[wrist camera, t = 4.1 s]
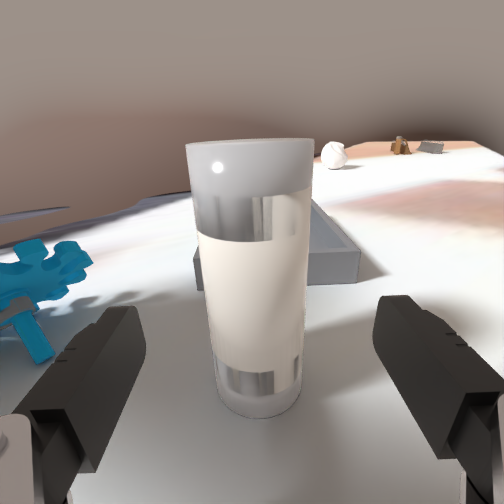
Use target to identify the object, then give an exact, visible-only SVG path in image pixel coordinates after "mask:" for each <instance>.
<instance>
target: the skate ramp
mask: <svg viewBox="0 0 504 504" xmlns="http://www.w3.org/2000/svg"><path fill="white" fill-rule="evenodd" d="M397 138H398V136H397ZM402 140H405V142H406V144H405V143H404V142H403V141H402ZM430 142H431V141H430ZM440 142H441V141H439V142H438V143H440ZM401 143H402V144H401ZM442 143H443V142H442ZM443 146H444V143H443V144H437V142H436V143H433V142H432V143H429V142H428V141H427V142H421V145H420V146H419V148H418V149H416V150H418V151H423V152H427V153H432V154H442V150H443ZM391 151H394V154H398V155H399V153H401V154H411V153H410V151H409V147H408V143H407V140H406V139H396V143H392V145H391Z"/></svg>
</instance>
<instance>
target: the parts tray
mask: <svg viewBox="0 0 504 504" xmlns="http://www.w3.org/2000/svg"><path fill="white" fill-rule="evenodd" d="M360 255H361V250H360V249H359V248H358V247H357V246H356V245H355V244H354V243H353V242H352V241H351V240H350V239H349V238H348V237H347V236H346V235H345V233H344V232H343V231H342V230H341V229H340V228H339V227H338V226H337V225H336V224H335V223H334V222H333V221H332V220H331V219H330V218H329V216H328V215H327V214H326V213H325V212H324V211H323V210H322V209H321V208H320V207H319V206H318V205H317V204H316V203H315V202H314V201H313V199H311V216H310V235H309V254H308V272H307V285H322V284H344V283H357V276H358V269H359V262H360ZM193 262H194V269H195V276H196V283H197V290H204V283H203V276H202V268H201V260H200V253H199V245H198V247H197V250H196V252H195V255H194V257H193Z"/></svg>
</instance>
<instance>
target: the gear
mask: <svg viewBox="0 0 504 504" xmlns="http://www.w3.org/2000/svg"><path fill="white" fill-rule="evenodd" d="M13 250H14V251H15V253H16V255H17V256H18V258H19V260H20V261H18V262H15V263H0V330H2V329H5V328H7V327H9V326H11V325H13V326H14V327H15V329H16V331H17V333H18V334H19V336H20V338H21V339H22V341H23V343H24V345H25V346H26V348H27V350H28V351H29V353H30V355H31V357H32V358H33V360H34V362H35V364H40V363H42V362H44V361H45V360H47V359H49V358H51V357H52V356H54V355H55V352H54V351H53V349H52V347H51V345H50V344H49V342H48V340H47V339H46V337H45V335H44V334H43V332H42V330H41V329H40V327H39V325H38V324H37V322H36V320H35V318H34V317H33V315H32V314H33V313H35V312H37V311H38V310H39V309H40V308H39V307H38V305H37V302H41V301H46V300H58V299H61V298H62V297H63V296H65V295H66V294H67V293H68V292H69V290H68V288H67V286H66V285H70V284H74V283H78V282H81V281H83V280H85V278H86V276H87V274H86V272H85V271H84V268H86V267H88V266H90V265H92V264H93V262H92V260H91V258H90V257H89V255H88V254H87V252H85V251H83V250H81V248H80V247H79V245H78V244H77V242H76V241H62V242H59V243H58V244H56V245H55V246H54V251H55V254H54V255H53V256H52V257H50V258H48V259H45V260H44V258H45V257H46V256H47V255H48V253H49V252H48V250H47V249H46V247H45V246H44V244H43V242H42V241H41V239H34V240H30V241H25V242H22V243H19V244H16V245H15V246H14V247H13Z"/></svg>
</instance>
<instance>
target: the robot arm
mask: <svg viewBox="0 0 504 504" xmlns="http://www.w3.org/2000/svg"><path fill="white" fill-rule="evenodd" d="M373 344H374V348H375V351H376V353H377V355H378V356H379V358H380V360H381V361H382V363H383V365H384V367H385V368H386V370H387V372H388V374H389V375H390V377H391V379H392V380H393V382H394V384H395V386H396V387H397V389H398V391H399V393H400V394H401V396H402V398H403V400H404V401H405V403H406V405H407V406H408V408H409V410H410V412H411V413H412V415H413V417H414V419H415V420H416V422H417V424H418V426H419V427H420V429H421V431H422V432H423V434H424V436H425V438H426V439H427V441H428V443H429V445H430V446H431V448H432V450H433V452H434V453H435V455H436V457H437V458H438V459H456V458H457V459H458V461H459V462H460V464H461V466H462V467H463V471H462V473H461V478H460V504H504V379H503V378H502V377H501V376H500V375H499V374H498V373H497V372H496V371H495V370H494V369H493V368H492V367H491V366H490V365H489V364H488V363H487V362H486V361H485V360H484V359H483V358H482V357H481V356H480V355H479V354H477V353H476V352H475V351H474V350H473V349H472V348H471V347H468V345H467V343H466V342H465V341H464V340H463V339H462V338H461V337H460V336H457V334H456V332H455V331H454V330H453V329H452V328H451V327H450V326H449V325H448V324H447V323H446V322H445V321H444V320H442V319H441V318H439V317H437V316H436V315H434V314H432V313H431V312H429V311H427V310H422V309H421V308H420V307H419V306H418V305H417V304H416V303H415V302H414V301H413V300H412V299H411V298H410V297H409V296H408V295H393V296H382V297H380V299H379V302H378V307H377V312H376V318H375V323H374V328H373ZM145 354H146V342H145V338H144V334H143V330H142V326H141V323H140V319H139V315H138V311H137V309H136V307H135V306H120V307H109V308H107V309H106V310H105V312H104V313H103V314H102V316H101V317H100V318H99V320H98V321H97V322H96V323H91V324H90V325H89V326H87V327H86V328H85V329H83V330H82V331H80V332H79V333H78V334H76V335H75V336H74V338H73V339H72V340H71V341H70V342H69V344H68V345H67V346H66V347H65V349H64V352H61V353H60V355H59V356H58V357H57V358H56V360H55V363H54V364H51V366H50V367H49V368H48V369H47V371H46V372H45V373H44V374H43V375H42V377H41V378H40V379H39V380H38V382H37V383H36V384H35V385H34V386H33V388H32V389H31V390H30V391H29V393H28V394H27V395H26V396H25V397H24V399H23V400H22V401H21V402H20V404H19V405H18V406H17V407H16V408H15V410H14V411H13V412H12V413H11V414H9V415H4V416H1V417H0V504H73V499H72V494H71V491H70V487H71V485H72V483H73V481H74V479H75V477H76V475H77V474H78V473H95V472H96V470H97V468H98V466H99V463H100V461H101V459H102V456H103V454H104V452H105V450H106V447H107V445H108V443H109V440H110V438H111V436H112V433H113V431H114V429H115V427H116V424H117V422H118V420H119V417H120V415H121V413H122V410H123V408H124V406H125V404H126V401H127V399H128V397H129V394H130V392H131V390H132V387H133V385H134V383H135V381H136V378H137V376H138V374H139V371H140V369H141V367H142V364H143V362H144V359H145Z"/></svg>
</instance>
